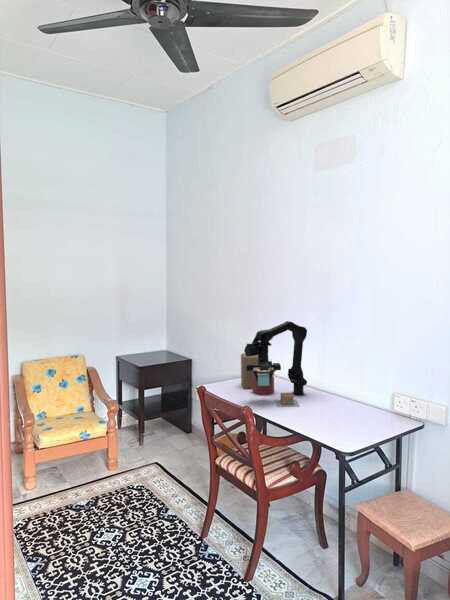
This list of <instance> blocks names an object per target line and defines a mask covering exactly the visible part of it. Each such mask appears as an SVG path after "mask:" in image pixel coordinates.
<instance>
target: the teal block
mask: <svg viewBox="0 0 450 600" xmlns="http://www.w3.org/2000/svg"><path fill="white" fill-rule="evenodd" d="M258 386H269V374H258Z"/></svg>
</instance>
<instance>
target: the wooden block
mask: <svg viewBox="0 0 450 600" xmlns="http://www.w3.org/2000/svg"><path fill="white" fill-rule="evenodd" d="M247 363H253V365H258V355H255V356H248V357H247V356H246V355H245V352H244V353H241V355H240V375H241V376H240V384H241V386H242V388H243V389H247V390H248V389H252V388H253V380H252V378H253V374H252V372H251V371H246V364H247Z"/></svg>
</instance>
